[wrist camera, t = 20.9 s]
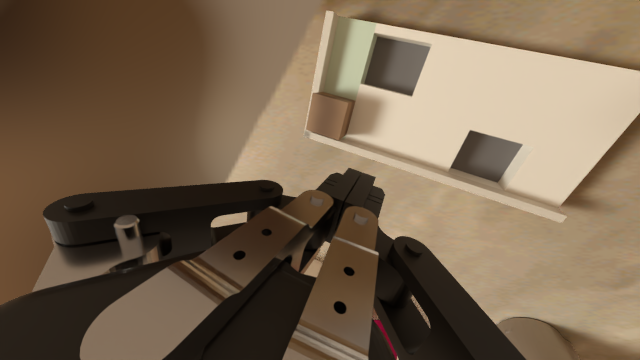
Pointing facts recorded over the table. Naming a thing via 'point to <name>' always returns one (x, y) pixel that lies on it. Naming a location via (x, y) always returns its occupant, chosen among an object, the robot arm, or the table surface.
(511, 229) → the table surface
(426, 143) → the tray
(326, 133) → the block
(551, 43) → the table surface
